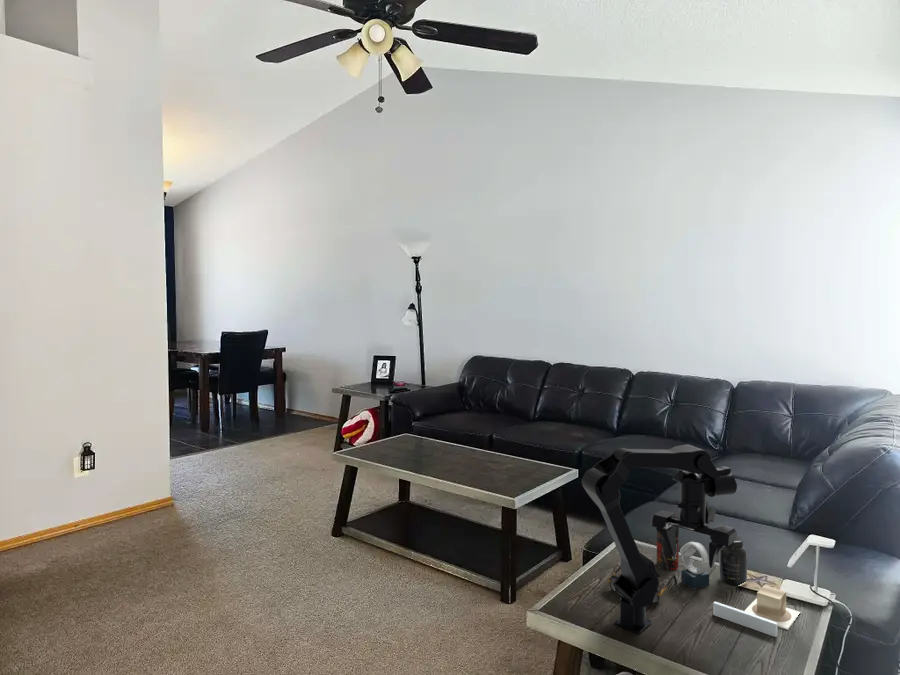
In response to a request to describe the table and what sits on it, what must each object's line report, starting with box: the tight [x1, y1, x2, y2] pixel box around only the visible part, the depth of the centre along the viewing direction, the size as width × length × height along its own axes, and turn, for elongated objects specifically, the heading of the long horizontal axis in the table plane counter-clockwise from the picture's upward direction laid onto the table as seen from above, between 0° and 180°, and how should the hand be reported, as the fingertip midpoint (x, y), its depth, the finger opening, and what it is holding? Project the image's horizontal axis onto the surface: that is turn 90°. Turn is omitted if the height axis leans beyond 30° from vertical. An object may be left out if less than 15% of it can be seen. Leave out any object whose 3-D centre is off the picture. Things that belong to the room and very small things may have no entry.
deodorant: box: [656, 510, 680, 571], centre depth 172 cm, size 6×6×15 cm
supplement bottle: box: [718, 535, 748, 587], centre depth 162 cm, size 7×7×12 cm
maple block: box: [756, 584, 787, 620], centre depth 145 cm, size 5×5×5 cm
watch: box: [679, 541, 710, 590], centre depth 161 cm, size 6×8×11 cm
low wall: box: [712, 601, 779, 638], centre depth 141 cm, size 1×14×3 cm, turn 45°
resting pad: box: [744, 597, 802, 631], centre depth 146 cm, size 10×10×1 cm
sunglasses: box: [607, 565, 678, 604], centre depth 160 cm, size 14×15×5 cm
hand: (692, 561), depth 145 cm, fingers open, 9 cm apart
